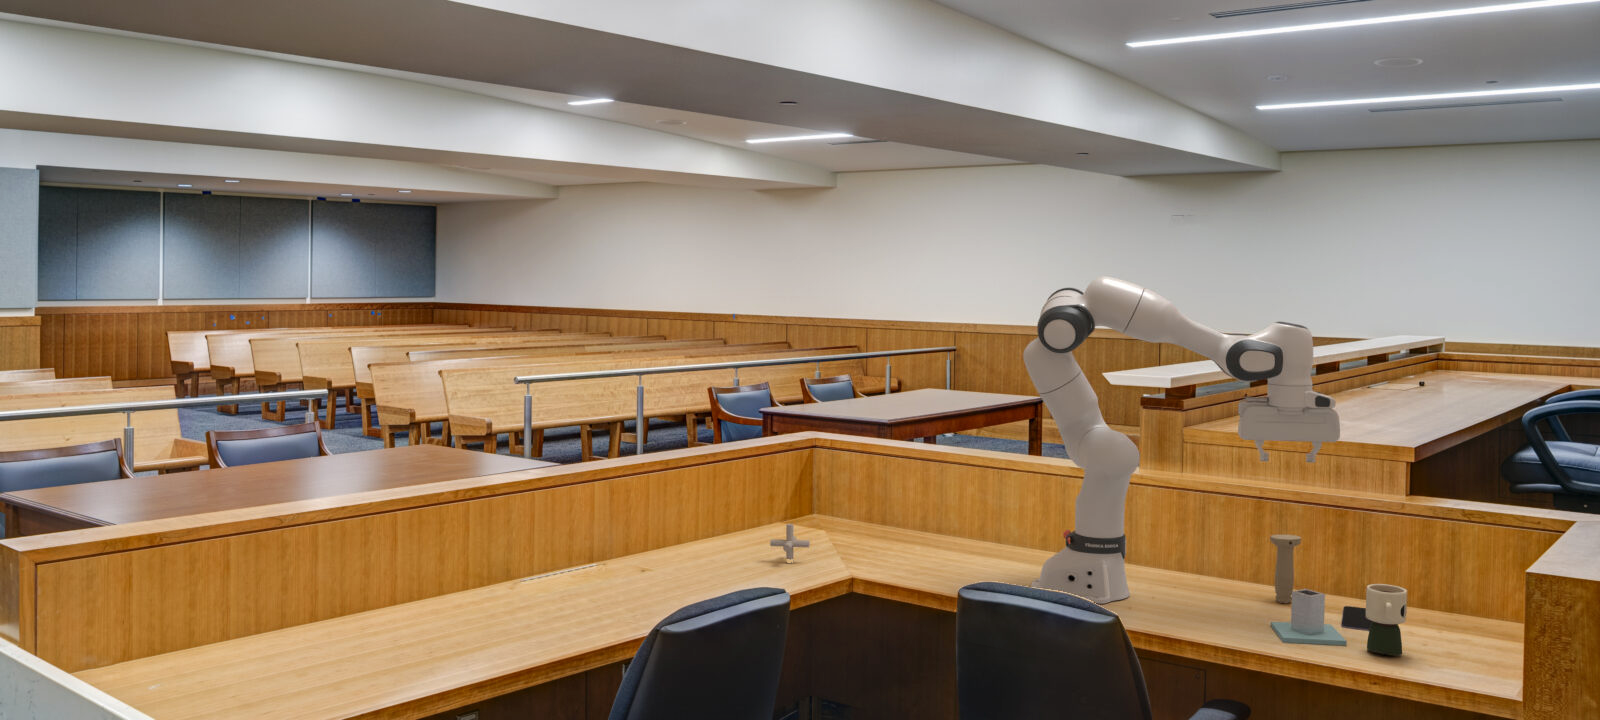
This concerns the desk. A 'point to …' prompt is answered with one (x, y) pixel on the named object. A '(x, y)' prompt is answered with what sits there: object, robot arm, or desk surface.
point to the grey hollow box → (1307, 611)
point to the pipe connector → (789, 542)
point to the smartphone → (1355, 618)
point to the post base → (1292, 636)
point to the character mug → (1385, 617)
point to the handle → (1284, 566)
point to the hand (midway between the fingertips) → (1287, 461)
